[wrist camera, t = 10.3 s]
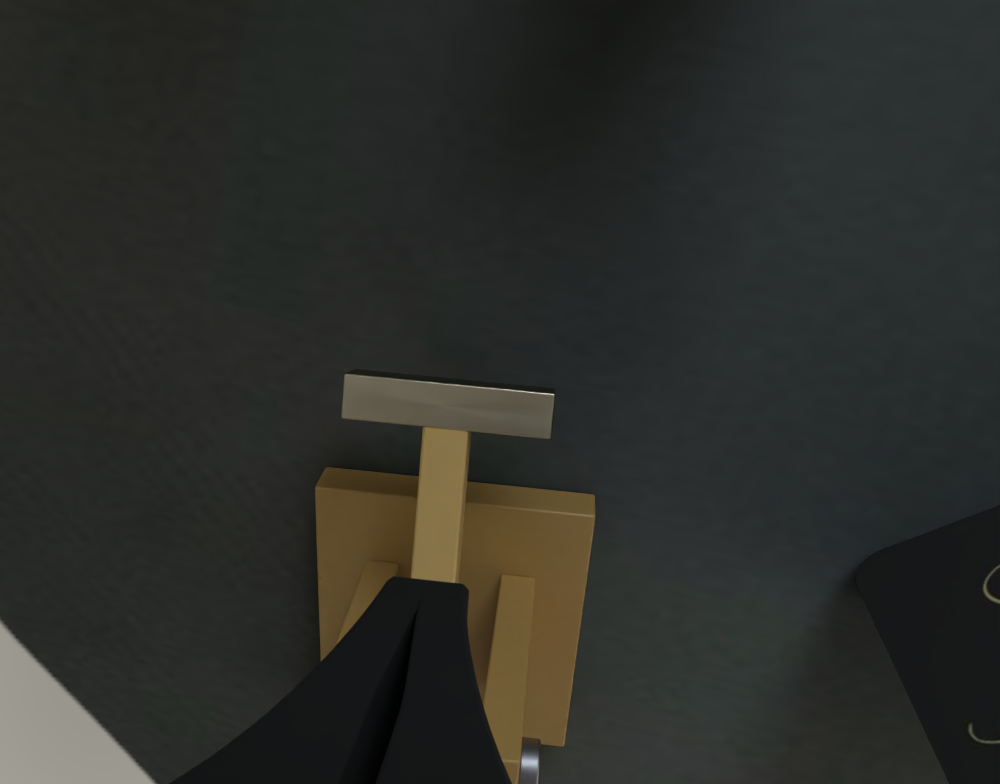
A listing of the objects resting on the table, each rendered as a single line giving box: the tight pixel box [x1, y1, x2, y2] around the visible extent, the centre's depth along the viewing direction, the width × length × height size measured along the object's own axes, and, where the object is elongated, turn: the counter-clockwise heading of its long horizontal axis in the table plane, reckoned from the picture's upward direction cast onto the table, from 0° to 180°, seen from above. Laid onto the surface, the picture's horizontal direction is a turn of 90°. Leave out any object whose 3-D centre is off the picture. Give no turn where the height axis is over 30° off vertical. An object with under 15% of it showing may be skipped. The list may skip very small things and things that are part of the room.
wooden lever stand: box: [315, 467, 595, 784], centre depth 23 cm, size 9×8×8 cm
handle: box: [341, 369, 556, 583], centre depth 21 cm, size 11×5×2 cm, turn 174°
